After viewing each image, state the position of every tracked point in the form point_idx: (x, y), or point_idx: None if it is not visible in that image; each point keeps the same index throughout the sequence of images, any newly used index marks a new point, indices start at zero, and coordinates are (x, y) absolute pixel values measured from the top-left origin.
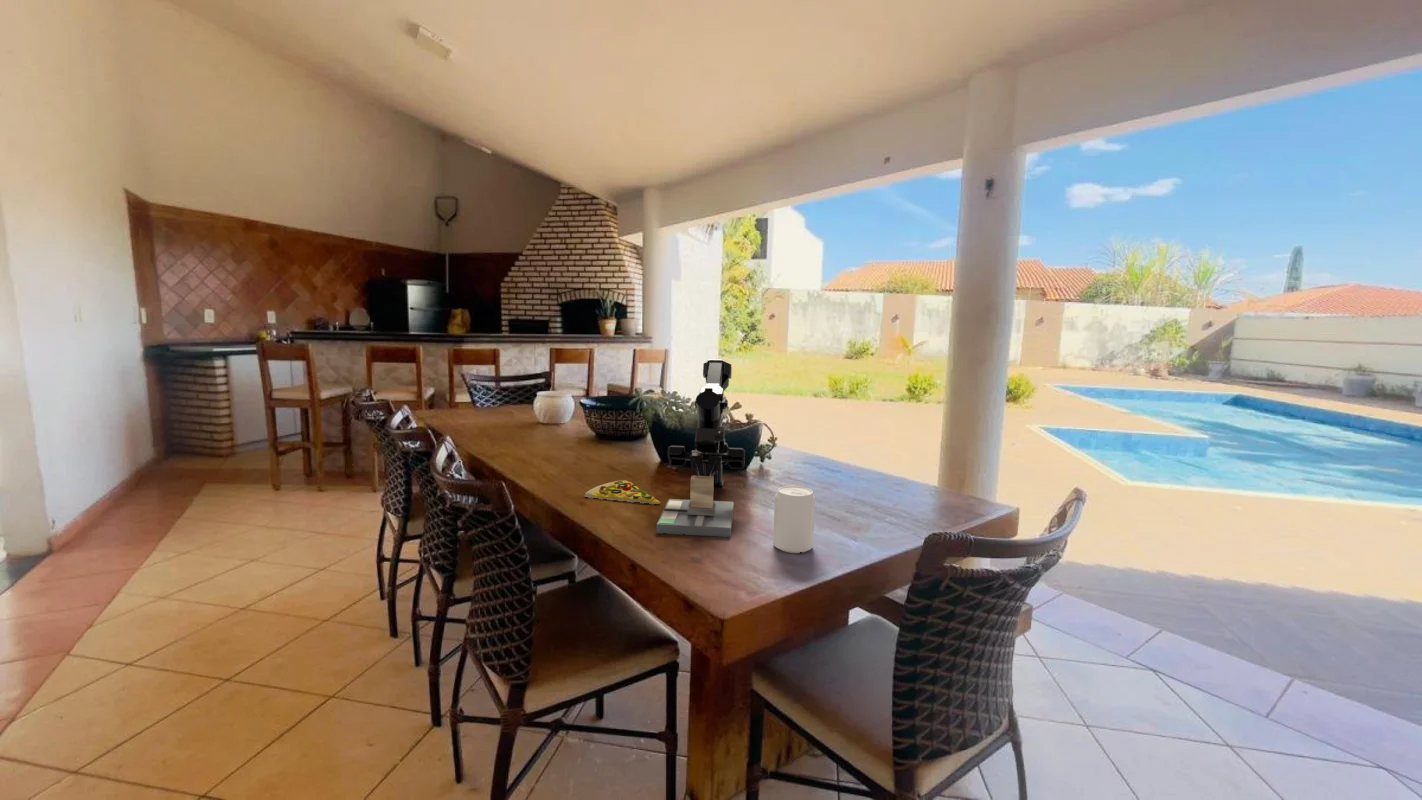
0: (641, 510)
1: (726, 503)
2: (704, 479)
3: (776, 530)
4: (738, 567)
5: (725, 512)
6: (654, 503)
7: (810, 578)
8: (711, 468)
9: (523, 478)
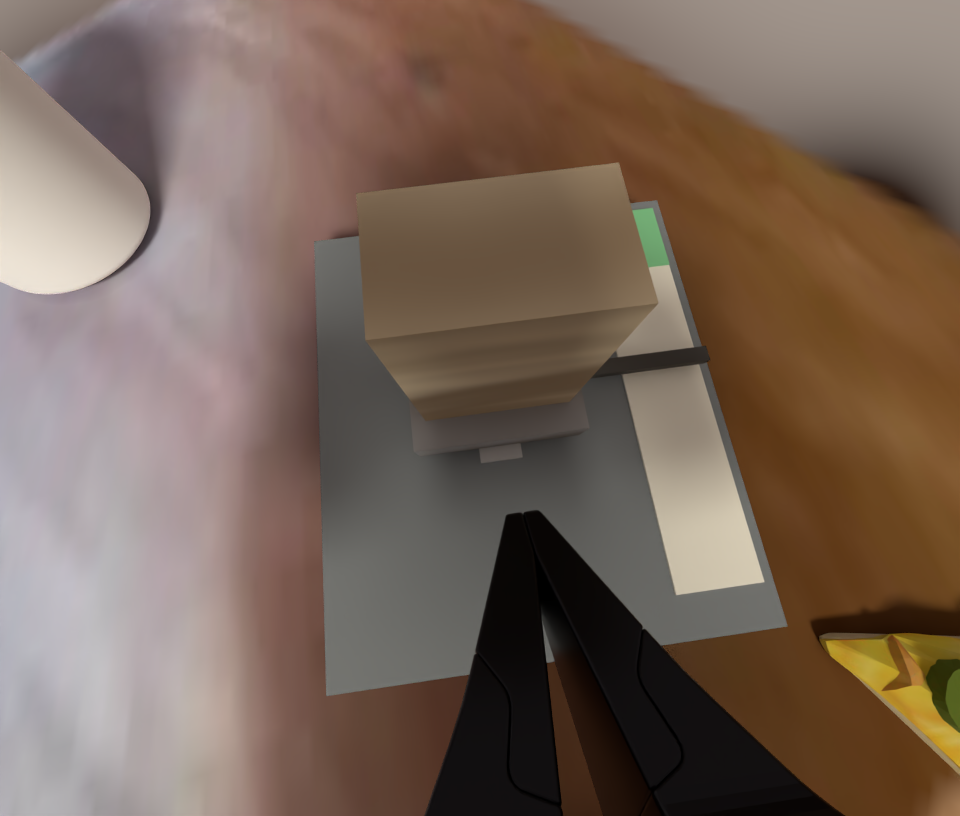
0: (859, 497)
1: (374, 638)
2: (457, 189)
3: (71, 118)
4: (288, 58)
5: (361, 448)
6: (857, 635)
7: (78, 44)
8: (464, 762)
9: None
